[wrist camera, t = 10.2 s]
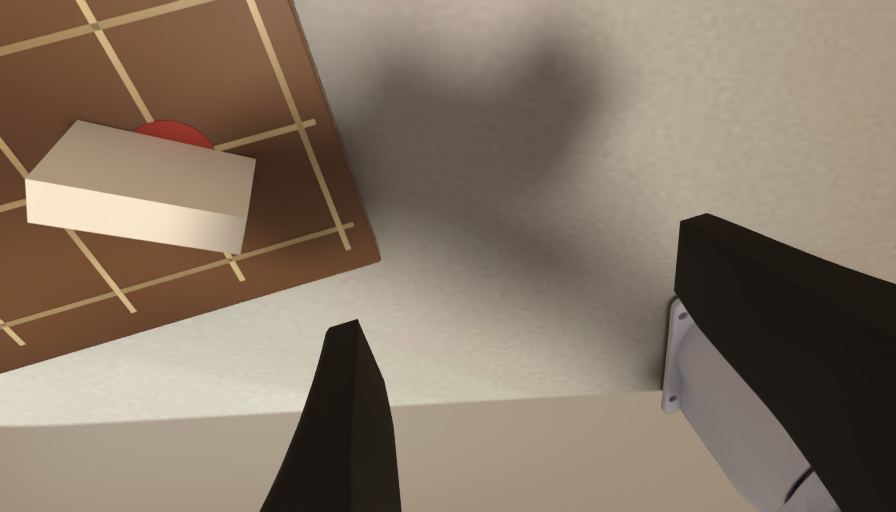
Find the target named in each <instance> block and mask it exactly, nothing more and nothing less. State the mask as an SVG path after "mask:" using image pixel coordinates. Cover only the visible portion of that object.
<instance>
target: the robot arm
mask: <svg viewBox="0 0 896 512" xmlns="http://www.w3.org/2000/svg"><path fill="white" fill-rule="evenodd" d="M674 291H675V293H676V294H677V296H678V299H677V300H675V301H674V302H673V304H672V306H671V313H670V323H669V333H668V343H667V354H666V364H665V374H664V384H663V395H662V404H661V407H662V409H663V411H664V412H665V413H673V412H676V411H679V410H681V411H682V413H683V414H684V415H685V417H686V418H687V420H688V421H689V422H690V424H691V425H692V427H693V428H694V430H695V431H696V432H697V434H698V435H699V437H700V438H701V440H702V441H703V443H704V444H705V445H706V447H707V448H708V450H709V451H710V453H711V454H712V455H713V457H714V458H715V460H716V461H717V462H718V464H719V465H720V467H721V468H722V470H723V471H724V472H725V474H726V475H727V477H728V478H729V480H730V481H731V482H732V484H733V485H734V487H735V488H736V489H737V491H738V492H739V493H740V494H741V496H742V497H743V498H744V499H745V500H746V501H747V502H748V503H749V504H750V505H752V506H753V507H754V508H755V509H757V510H758V511H760V512H896V284H894V283H891V282H888V281H884V280H881V279H878V278H875V277H872V276H870V275H867V274H864V273H861V272H858V271H855V270H852V269H849V268H846V267H843V266H841V265H838V264H835V263H833V262H830V261H827V260H824V259H822V258H819V257H817V256H814V255H811V254H809V253H806V252H804V251H801V250H799V249H796V248H794V247H791V246H789V245H786V244H784V243H781V242H779V241H776V240H774V239H771V238H769V237H766V236H764V235H762V234H759V233H757V232H754V231H752V230H749V229H747V228H744V227H742V226H740V225H737V224H735V223H732V222H730V221H727V220H724V219H722V218H719V217H716V216H714V215H711V214H708V213H705V214H702V215H699V216H695V217H692V218H689V219H686V220H682V221H680V230H679V241H678V252H677V263H676V274H675V285H674ZM260 512H401V501H400V489H399V479H398V468H397V458H396V447H395V436H394V427H393V421H392V416H391V411H390V406H389V401H388V396H387V392H386V387H385V382H384V379H383V377H382V375H381V372H380V370H379V368H378V365H377V363H376V361H375V358H374V356H373V354H372V351H371V349H370V347H369V344H368V342H367V340H366V338H365V335H364V333H363V331H362V328H361V326H360V324H359V321H358V319H356V320H353V321H350V322H346V323H343V324H340V325H336V326H333V327H330V328H329V329H328V330H327V332H326V335H325V339H324V343H323V347H322V351H321V355H320V359H319V362H318V366H317V369H316V372H315V376H314V379H313V382H312V386H311V389H310V392H309V394H308V397H307V400H306V403H305V406H304V409H303V412H302V415H301V418H300V421H299V423H298V426H297V429H296V431H295V433H294V436H293V438H292V441H291V443H290V446H289V448H288V451H287V453H286V456H285V458H284V461H283V463H282V465H281V468H280V470H279V472H278V474H277V476H276V479H275V481H274V483H273V485H272V487H271V489H270V491H269V494H268V496H267V498H266V500H265V502H264V504H263V506H262V508H261V510H260Z"/></svg>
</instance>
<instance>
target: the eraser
mask: <svg viewBox="0 0 896 512" xmlns="http://www.w3.org/2000/svg"><path fill="white" fill-rule="evenodd" d="M255 163H256V159H254V158H249V157H244V156H240V155H235V154H231V153H226V152H222V151H217V150H212V149H208V148H203V147H199V146H194V145H190V144H185V143H181V142H176V141H171V140H167V139H162V138H158V137H153V136H149V135H144V134H139V133H135V132H130V131H126V130H121V129H117V128H112V127H108V126H103V125H98V124H94V123H89V122H85V121H80V120H77V121H76V122H75V123H74V124H73V125H72V127H71V128H70V129H69V130H68V131H67V132H66V133H65V134H64V136H63V137H62V138H61V139H60V140H59V141H58V142H57V143H56V145H55V146H54V147H53V148H52V149H51V150H50V151H49V152H48V154H47V155H46V156H45V157H44V158H43V159H42V160H41V161H40V162H39V164H38V165H37V166H36V167H35V168H34V169H33V170H32V171H31V173H30V174H29V175H28V176H27V177H26V178H25V187H26V204H27V221H28V223H34V224H41V225H47V226H54V227H60V228H67V229H73V230H80V231H86V232H93V233H99V234H106V235H112V236H119V237H126V238H132V239H139V240H145V241H152V242H158V243H165V244H171V245H178V246H184V247H191V248H197V249H204V250H211V251H217V252H224V253H230V254H237V255H240V254H241V248H242V243H243V237H244V232H245V227H246V221H247V215H248V209H249V202H250V196H251V189H252V183H253V176H254V170H255Z"/></svg>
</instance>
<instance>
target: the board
mask: <svg viewBox="0 0 896 512" xmlns="http://www.w3.org/2000/svg"><path fill="white" fill-rule="evenodd" d="M77 120H80V121H85V122H89V123H94V124H98V125H103V126H108V127H112V128H117V129H121V130H126V131H130V132H135V133H139V134H144V135H149V136H153V137H158V138H162V139H167V140H171V141H176V142H181V143H185V144H190V145H194V146H199V147H203V148H208V149H212V150H217V151H222V152H226V153H231V154H235V155H240V156H244V157H249V158H254V159H256V163H255V170H254V176H253V183H252V189H251V196H250V202H249V209H248V215H247V221H246V227H245V232H244V237H243V243H242V248H241V254H240V255H237V254H230V253H224V252H217V251H211V250H204V249H197V248H191V247H184V246H178V245H171V244H165V243H158V242H152V241H145V240H139V239H132V238H126V237H119V236H112V235H106V234H99V233H93V232H86V231H80V230H73V229H67V228H60V227H54V226H47V225H41V224H34V223H28V221H27V204H26V187H25V178H26V177H27V176H28V175H29V174H30V173H31V171H32V170H33V169H34V168H35V167H36V166H37V165H38V164H39V162H40V161H41V160H42V159H43V158H44V157H45V156H46V155H47V154H48V152H49V151H50V150H51V149H52V148H53V147H54V146H55V145H56V143H57V142H58V141H59V140H60V139H61V138H62V137H63V136H64V134H65V133H66V132H67V131H68V130H69V129H70V128H71V127H72V125H73V124H74V123H75V122H76V121H77ZM380 261H381V257H380V252H379V248H378V244H377V242H376V239H375V236H374V233H373V230H372V227H371V224H370V221H369V219H368V216H367V213H366V210H365V207H364V204H363V201H362V198H361V196H360V193H359V190H358V187H357V184H356V181H355V178H354V175H353V173H352V170H351V167H350V164H349V161H348V158H347V155H346V152H345V150H344V147H343V144H342V141H341V138H340V135H339V132H338V129H337V127H336V124H335V121H334V118H333V115H332V112H331V109H330V107H329V104H328V101H327V98H326V95H325V92H324V89H323V86H322V84H321V81H320V78H319V75H318V72H317V69H316V66H315V63H314V61H313V58H312V55H311V52H310V49H309V46H308V43H307V40H306V38H305V35H304V32H303V29H302V26H301V23H300V20H299V17H298V15H297V12H296V9H295V6H294V3H293V0H0V374H1V373H4V372H8V371H11V370H15V369H18V368H21V367H25V366H28V365H32V364H35V363H38V362H42V361H45V360H48V359H52V358H55V357H59V356H62V355H65V354H69V353H72V352H76V351H79V350H82V349H86V348H89V347H92V346H96V345H99V344H103V343H106V342H109V341H113V340H116V339H120V338H123V337H126V336H130V335H133V334H136V333H140V332H143V331H147V330H150V329H153V328H157V327H160V326H164V325H167V324H170V323H174V322H177V321H181V320H184V319H187V318H191V317H194V316H197V315H201V314H204V313H208V312H211V311H214V310H218V309H221V308H225V307H228V306H231V305H235V304H238V303H241V302H245V301H248V300H252V299H255V298H258V297H262V296H265V295H269V294H272V293H275V292H279V291H282V290H285V289H289V288H292V287H296V286H299V285H302V284H306V283H309V282H313V281H316V280H319V279H323V278H326V277H329V276H333V275H336V274H340V273H343V272H346V271H350V270H353V269H357V268H360V267H363V266H367V265H370V264H373V263H377V262H380Z"/></svg>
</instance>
